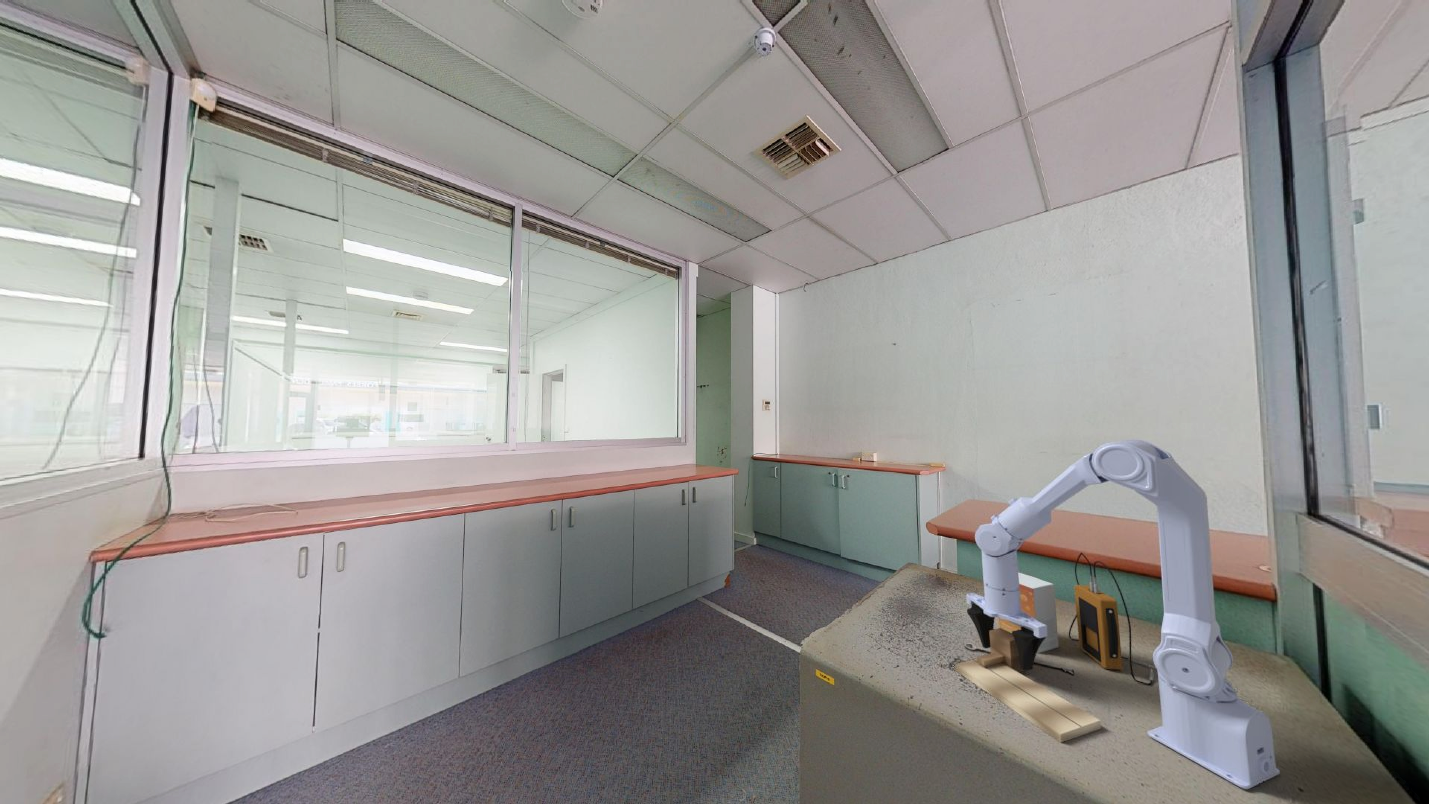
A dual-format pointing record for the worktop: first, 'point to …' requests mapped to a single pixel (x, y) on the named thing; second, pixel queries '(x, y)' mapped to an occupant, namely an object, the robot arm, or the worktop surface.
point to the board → (1030, 700)
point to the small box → (1037, 608)
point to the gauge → (1002, 650)
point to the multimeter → (1101, 625)
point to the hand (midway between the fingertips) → (1006, 657)
